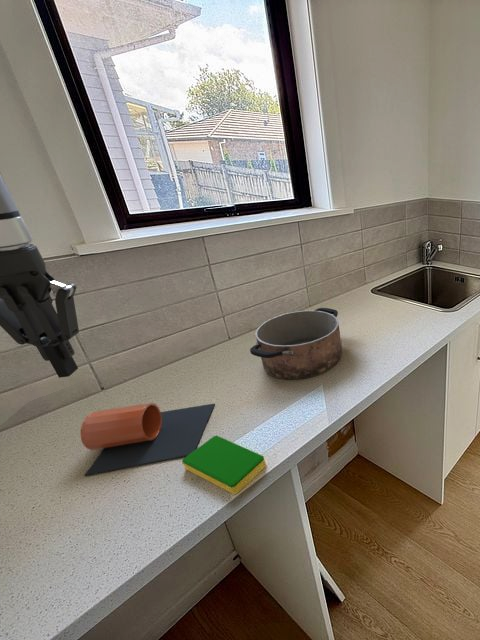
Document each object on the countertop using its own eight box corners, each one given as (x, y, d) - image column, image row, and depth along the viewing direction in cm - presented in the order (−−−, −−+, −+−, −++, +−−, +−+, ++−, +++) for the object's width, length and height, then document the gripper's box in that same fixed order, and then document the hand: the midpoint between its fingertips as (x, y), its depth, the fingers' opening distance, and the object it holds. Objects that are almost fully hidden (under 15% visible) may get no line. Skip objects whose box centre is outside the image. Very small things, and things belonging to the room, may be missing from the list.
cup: (73, 429, 63) (136, 419, 65) (98, 403, 69) (153, 395, 72) (91, 458, 66) (150, 448, 68) (112, 431, 73) (165, 422, 75)
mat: (85, 476, 63) (84, 474, 63) (127, 418, 77) (126, 417, 76) (193, 455, 67) (193, 453, 67) (215, 404, 81) (214, 403, 81)
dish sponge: (235, 495, 59) (231, 486, 58) (184, 469, 64) (180, 460, 63) (267, 465, 65) (264, 456, 64) (218, 443, 70) (215, 434, 69)
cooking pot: (300, 397, 84) (292, 360, 79) (234, 377, 91) (223, 343, 86) (362, 342, 109) (360, 312, 104) (307, 330, 116) (302, 301, 111)
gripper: (-83, 255, 47) (7, 390, 57) (34, 250, 50) (99, 379, 61) (-34, 243, 53) (39, 366, 64) (67, 239, 57) (121, 357, 67)
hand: (68, 372), depth 62 cm, fingers closed
